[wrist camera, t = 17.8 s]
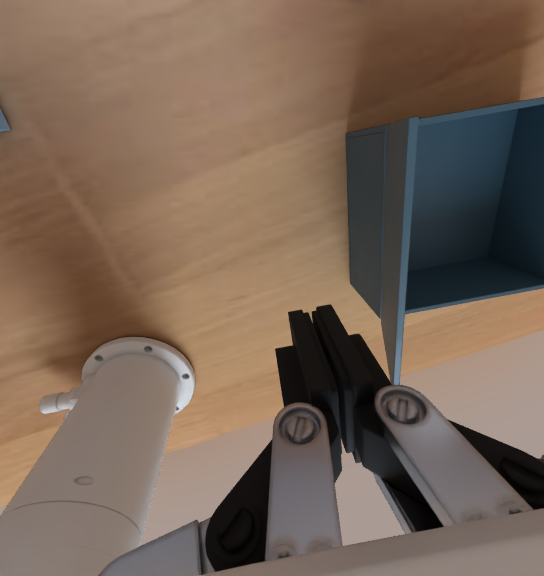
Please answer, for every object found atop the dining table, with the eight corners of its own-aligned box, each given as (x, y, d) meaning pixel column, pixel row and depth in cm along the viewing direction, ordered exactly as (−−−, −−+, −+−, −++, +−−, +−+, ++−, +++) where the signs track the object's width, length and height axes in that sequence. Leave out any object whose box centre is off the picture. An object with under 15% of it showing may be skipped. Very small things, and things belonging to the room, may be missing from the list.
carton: (350, 283, 31) (380, 319, 24) (345, 133, 24) (384, 124, 17) (487, 258, 31) (554, 286, 24) (519, 102, 24) (624, 82, 18)
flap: (385, 322, 23) (381, 322, 23) (392, 124, 17) (386, 125, 17) (398, 396, 17) (392, 395, 17) (419, 115, 10) (408, 117, 10)
